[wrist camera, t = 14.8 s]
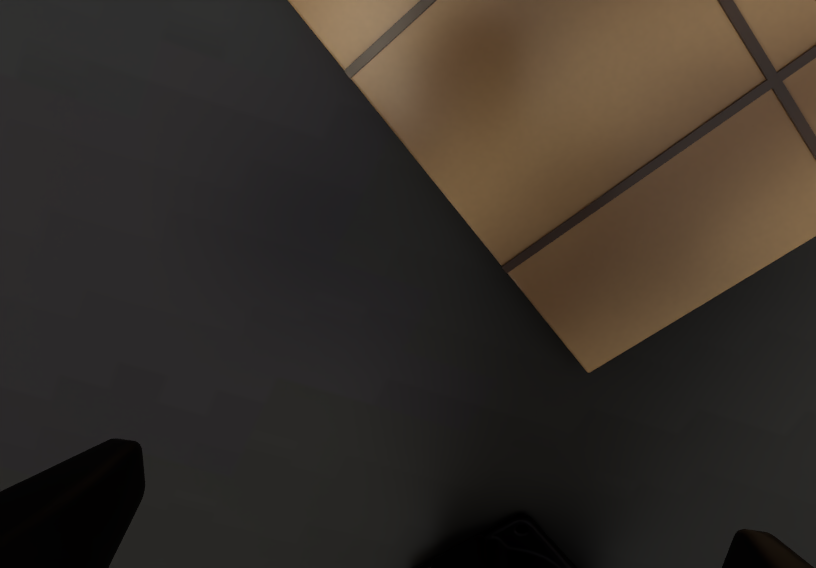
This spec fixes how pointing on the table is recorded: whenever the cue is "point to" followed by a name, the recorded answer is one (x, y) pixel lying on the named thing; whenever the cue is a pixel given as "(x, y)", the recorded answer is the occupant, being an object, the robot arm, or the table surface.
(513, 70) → the grid board
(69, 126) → the table surface
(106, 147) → the table surface
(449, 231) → the table surface
